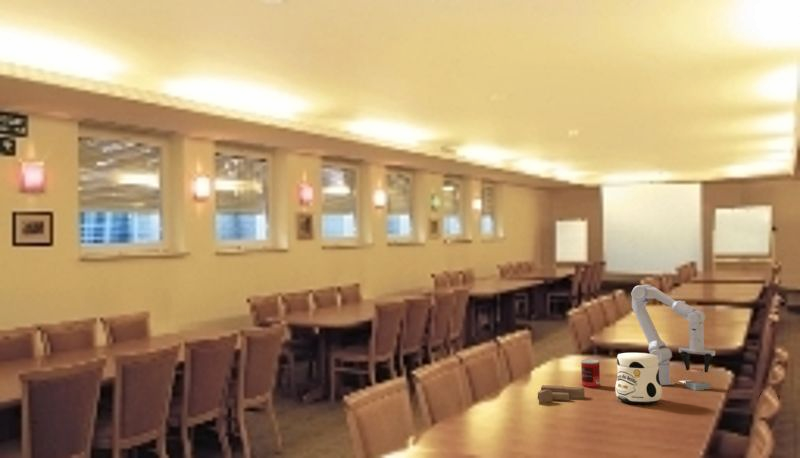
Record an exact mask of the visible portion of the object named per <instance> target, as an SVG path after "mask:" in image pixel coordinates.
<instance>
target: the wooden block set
mask: <svg viewBox="0 0 800 458" xmlns="http://www.w3.org/2000/svg"><path fill="white" fill-rule="evenodd" d="M585 390H586V389H585V387H583V386H582V387H579V386H564V385H546V384H542V385H541V387H540V390H539V391H538V392H537V400H538V405H544V404H549V403H553V401H557V402H558V401H559V402H569V401H570V399H571V400H581V399H585V393H586V392H585Z"/></svg>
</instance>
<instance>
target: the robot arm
mask: <svg viewBox="0 0 800 458" xmlns="http://www.w3.org/2000/svg"><path fill="white" fill-rule="evenodd" d="M630 295H631V309H632V311H633V313H634V314H635V315H634V316H635V317H636V319H637V322H638V323H639V325H640V328H641V330H642V332H643V334H644V336H645V338H646V341H647V342H648V348H647V349H648V352H649V354H653V355H657V356H658V361H659V381H660V384H661V386H669V385H675V383H674V382H671V361H670V360H671V358H673V353H672V350H671V349H670V348H669V347H668V346H667V344H666V343H665V342H664V341H663V340H662V338H661V337H660V335H659V333H658V331H657V329H656V327H655V324H654V322H653V321H652V318H651V316H650V315H649V311H648V310H647V308H646V307H647V305H648V302H649V301H650V299H651V300H653V299H655V300H657V301H658V302H661V303H663V304H664V305H667V306H668V307H670V308H671V309H672V312H673V313H674V314H676V315H677V316H680V317H681V318H683V319H685V320H686V321H687V323H688V341H689V342H688V343H689V345H688V347H683V346H682V347H678V353H679V354H680V357H681V359H682V362H683V363H684V366H685V369H686V371H690V370H691V369H690V368H691V367H690V363H691V362H690V359H691V354H692V355H693V354H694V355H703V363H704V364H703V365H704V366H703V367H704V369H703V372H704V373H709V368H710V364H711V363H712V360H713V358H714V356H716V350H713V349H706V348H705V342H704V341H705V336H704V335H705V334H704V333H705V332H704V330H705V329H704V322H705V321H706V314H705V313H704V311H702V310H701V309H697V308H696V307H694V306H690V305H689V304H687V302H686V301H685V300H675V299H674V298H672V297H670V296H669V295H667V294H666V293H664V292H663V291H661V290H659V289H658V288H657V287H656V286H652V285H651V284H649V283H646V284H641V285H640V284H639V285H636V286H634V287H633V289H632V291H631V293H630Z"/></svg>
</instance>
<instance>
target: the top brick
mask: <svg viewBox="0 0 800 458" xmlns="http://www.w3.org/2000/svg"><path fill="white" fill-rule="evenodd" d="M689 376H690V377H689V378H690V380H691V382H693V383H701V382H703V381H705V376H704V369H703V368H699V367H698V368H696V367H693V368H691V369H690V370H689Z"/></svg>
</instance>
